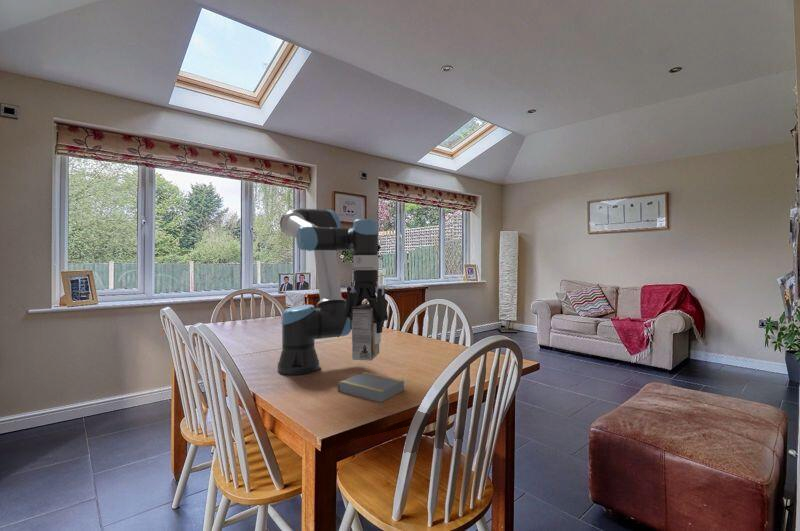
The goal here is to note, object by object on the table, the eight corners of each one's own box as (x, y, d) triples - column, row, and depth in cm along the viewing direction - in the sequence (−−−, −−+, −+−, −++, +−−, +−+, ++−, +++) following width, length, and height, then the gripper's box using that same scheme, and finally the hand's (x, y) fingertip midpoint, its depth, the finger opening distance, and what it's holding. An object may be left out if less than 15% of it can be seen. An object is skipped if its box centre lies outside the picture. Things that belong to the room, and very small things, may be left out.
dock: (337, 390, 120) (337, 381, 120) (362, 380, 130) (362, 371, 130) (381, 402, 110) (381, 391, 110) (404, 390, 120) (404, 380, 120)
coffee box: (360, 352, 125) (360, 303, 125) (379, 353, 124) (379, 304, 124) (351, 360, 116) (351, 307, 116) (371, 361, 115) (371, 307, 115)
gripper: (332, 268, 122) (333, 339, 123) (385, 270, 110) (385, 348, 111) (348, 268, 128) (348, 335, 129) (399, 269, 117) (400, 343, 117)
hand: (366, 341), depth 120 cm, fingers closed on coffee box, 8 cm apart
